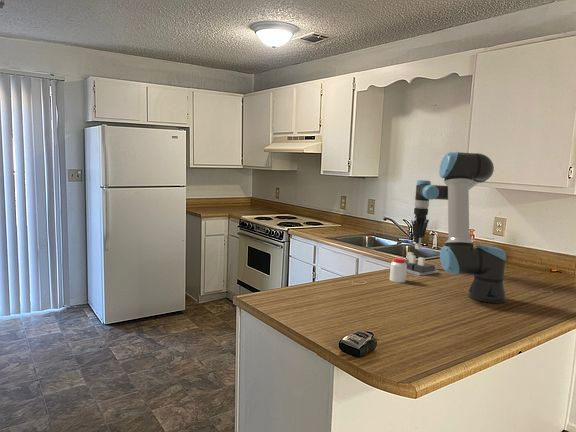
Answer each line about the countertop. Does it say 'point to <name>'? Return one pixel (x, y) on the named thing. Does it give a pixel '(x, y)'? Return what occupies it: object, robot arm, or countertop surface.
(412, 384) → the countertop surface
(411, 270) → the panel
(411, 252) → the handle
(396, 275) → the pill bottle
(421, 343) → the countertop surface
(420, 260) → the handle far
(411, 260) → the handle mid
